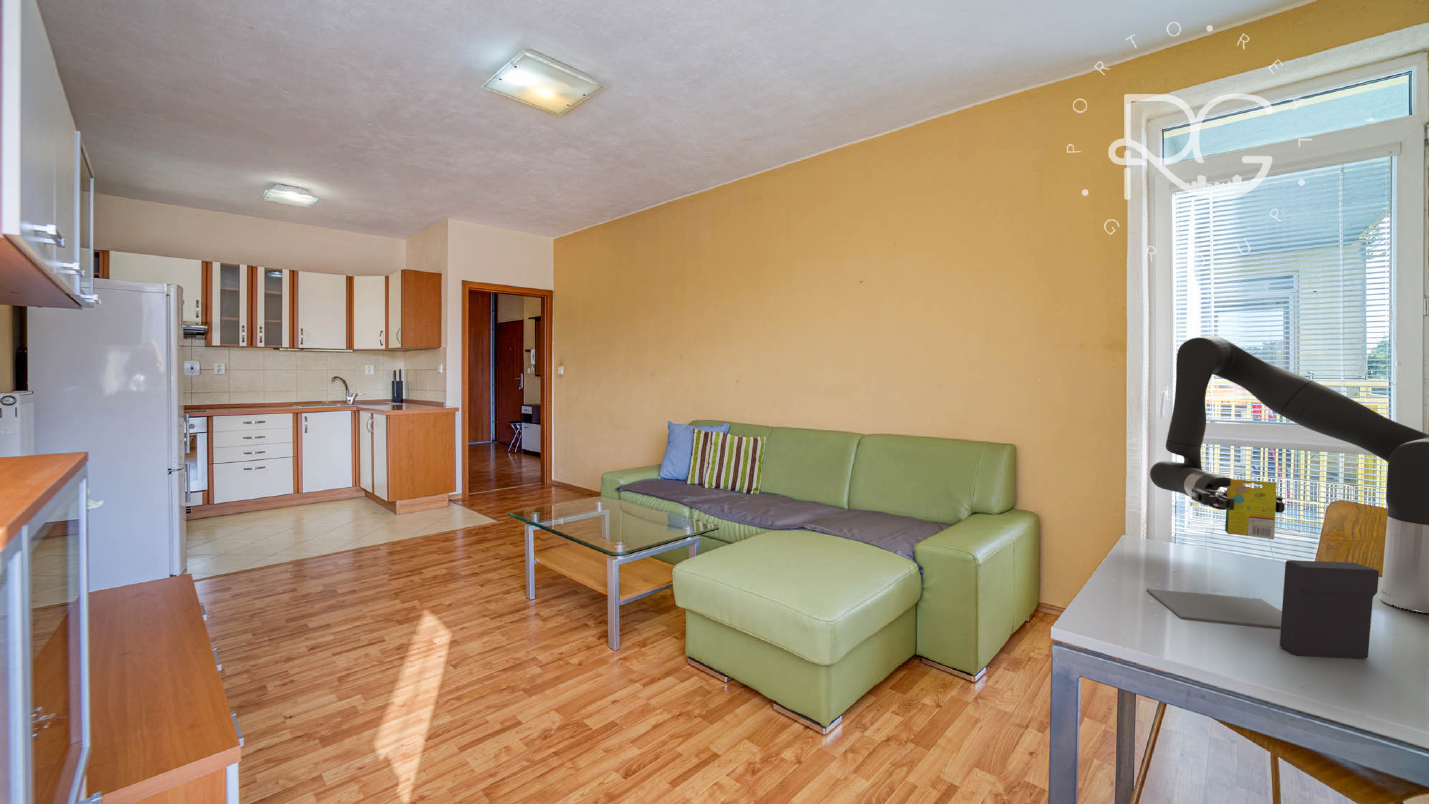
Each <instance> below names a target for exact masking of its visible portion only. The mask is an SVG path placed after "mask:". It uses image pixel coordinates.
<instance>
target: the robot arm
mask: <svg viewBox="0 0 1429 804" xmlns="http://www.w3.org/2000/svg"><path fill="white" fill-rule="evenodd" d="M1175 366H1176V367H1175V369H1176V371H1175V373H1176V374H1175V375H1176V377H1175V378H1176V381H1175V391H1174V392H1175V393H1174V395H1175V396H1174V400H1173V401H1174V402H1173V409H1172V415H1171V421H1170V423H1169V428H1168V433H1167V438H1166V443H1165V449H1166V451H1168V452H1169V453H1171V454H1174V455H1177V456H1181V457H1183V462H1178V461H1169V460H1168V461H1166V460H1162V461H1157V462H1156V463H1154V464H1153V465H1152V467H1151V469H1150V471H1149V477H1150V479H1151V482H1152V483H1153V484H1154V485H1155V486H1156V487H1158V488H1160V489H1161V490H1166V491H1170V492H1175V493H1179V494H1184V495H1185V496H1188V497H1189V498H1190V499H1191V500H1193V501H1195V502H1197V503H1200V504H1202V505H1204V506H1208V507H1211V508H1212V509H1215V510H1218V511H1226V509H1228V510H1234V500H1233V499H1231V498H1228V497H1227V486H1230V483H1231V482H1230V480H1231V479H1232V480H1234V479H1233V478H1230V477H1229V476H1226V475H1225V476H1224V475H1221V474H1219V473H1216V472H1212V471H1206V470H1203V466H1202V456H1201V455H1202V454H1201V453H1202V446H1203V442H1204V437H1205V434H1206V427H1207V411H1206V395H1207V389H1208V387H1209V382H1210V380H1211V378H1212V376H1213V375H1214V376H1216V377H1220V378H1221V379H1225V380H1226V381H1229V382H1231V383H1233V384H1236V385H1237V386H1240V387H1241V388H1243V389H1245V390H1246V391H1247V392H1248V393H1250V394H1251V395H1252V396H1253V397H1255V398H1256V399H1257V400H1258V401H1259V402H1260V403H1261V404H1263V405H1264V406H1265V407H1267V408H1268V409H1269V410H1271V411H1272V412H1274V413H1276V414H1278V415H1279V416H1282V417H1284V418H1286V419H1287V420H1289V421H1291V422H1293V423H1295V424H1297V425H1299V426H1301V427H1304V428H1306V429H1308V430H1310V431H1314V432H1316V433H1319V434H1322V435H1325V436H1328V437H1330V438H1334V439H1336V440H1340V441H1343V442H1346V443H1349V444H1352V445H1353V446H1356V447H1359V448H1361V449H1363V450H1365V451H1367V452H1369V453H1371V454H1372V455H1375V456H1377V457H1378V458H1381V459H1382V460H1384V461H1385V462H1387V463H1388V464H1387V471H1386V472H1387V473H1386V492H1385V493H1386V494H1385V502H1386V505H1387V519H1386V529H1385V530H1386V533H1385V541H1384V542H1385V543H1384V553H1383V565H1382V576H1381V577H1382V578H1381V590H1380V601H1382V602H1383V603H1385V604H1388V605H1390V606H1392V605H1394V606H1393V607H1395V606H1396V607H1395V608H1398V607H1399V609H1402V608H1404V609H1403V610H1405V608H1406V609H1409V610H1418V611H1422V612H1424V613H1429V434H1428V433H1426V432H1422V431H1420V430H1419V429H1418V430H1417V429H1414V428H1413V427H1410V426H1407V425H1404V424H1402V423H1399V422H1397V421H1394V420H1392V419H1389V418H1387V417H1385V416H1384V415H1381V414H1379V413H1378V412H1377V411H1374V410H1372V409H1371V408H1369V407H1367V406H1365V405H1363V404H1362V403H1360V402H1358V401H1356V400H1354V399H1353V398H1350V397H1348V396H1346V395H1344V394H1342V393H1340V392H1338V391H1336V390H1334V389H1331V388H1329V387H1327V386H1326V385H1323V384H1321V383H1319V382H1316V381H1314V380H1312V379H1310V378H1307V377H1305V376H1303V375H1300V374H1297V373H1295V372H1292V371H1291V370H1288V369H1285V368H1283V367H1280V366H1277V365H1275V364H1272V363H1270V362H1267V361H1265V360H1263V359H1261V358H1259V357H1257V356H1255V355H1254V354H1251V353H1250V352H1248V351H1246V350H1245V349H1243V348H1242V347H1240V346H1238V345H1236V344H1234V343H1233V342H1231V341H1230V340H1228V339H1225V338H1224V337H1223V338H1222V337H1220V336H1214V335H1209V336H1196V337H1192V338H1189V339H1188V340H1185V341H1184V342H1183V343H1181V345H1180V347H1178V350H1177V354H1176V365H1175ZM1283 500H1284V498H1283V496H1280V495H1278V494H1276V512H1275V513H1278V514H1279V513H1281V514H1283V513H1284V512H1285V509H1286V508H1285V506H1286V503H1284V502H1283ZM1409 610H1408V611H1409Z"/></svg>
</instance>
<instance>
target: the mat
mask: <svg viewBox="0 0 1429 804" xmlns="http://www.w3.org/2000/svg"><path fill="white" fill-rule="evenodd" d="M1145 590H1147V591H1146V592H1148V594H1150V593H1151V594H1152V595H1151V594H1150V595H1151V596H1152V597H1154V598H1155V599H1156V600H1157V601H1158V602H1159V603H1161V604H1162V603H1163V605H1164V607H1166V608H1167V609H1168V610H1170V611H1171V612H1172V613H1173V614H1175V615H1176V616H1177V617H1178V618H1179V619H1182V620H1183V619H1184V620H1193V621H1203V622H1211V623H1212V622H1214V623H1224V624H1232V625H1233V624H1234V625H1243V626H1251V627H1261V628H1262V627H1263V628H1271V629H1272V628H1273V629H1280V630H1281V618H1282V610H1281V609H1279V608H1277V607H1275V606H1274V605H1272V604H1270V603H1268V602H1267V601H1265V600H1264V599H1263V598H1252V597H1241V596H1231V595H1220V594H1209V593H1199V592H1198V593H1197V592H1188V591H1187V592H1186V591H1177V590H1166V589H1152V588H1146V589H1145Z"/></svg>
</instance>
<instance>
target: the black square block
mask: <svg viewBox="0 0 1429 804" xmlns="http://www.w3.org/2000/svg"><path fill="white" fill-rule="evenodd" d="M1379 577H1380V572H1379V570H1378V569H1375V568H1372V567H1369V566H1367V565H1364V564H1361V563H1357V562H1350V561H1349V562H1348V561H1347V562H1346V561H1322V560H1321V561H1318V560H1296V559H1295V560H1291V559H1290V560H1286V561H1285V566H1284V577H1283V578H1284V580H1283V581H1284V582H1283V591H1282V592H1283V593H1282V607H1281V608H1282V609H1281V611H1282V618H1281V629H1280V632H1279V633H1280V634H1279V636H1280V637H1279V647H1281V648H1282V649H1284V650H1285V651H1287V652H1288V653H1290V654H1293V655H1295V656H1297V657H1298V656H1300V657H1301V656H1302V657H1318V658H1321V657H1322V658H1338V659H1339V658H1340V659H1343V658H1344V659H1359V660H1366V659H1368V658H1369V651H1370V650H1369V649H1370V639H1371V638H1370V637H1371V624H1372V614H1373V603H1374V602H1373V601H1374V597H1375V596H1376V595H1377V593H1378V589H1379V588H1378V587H1379V580H1380V579H1379Z"/></svg>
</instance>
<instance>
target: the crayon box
mask: <svg viewBox="0 0 1429 804" xmlns="http://www.w3.org/2000/svg"><path fill="white" fill-rule="evenodd" d="M1232 479H1233V478H1231V480H1230V482H1231V483H1230V486H1227V497H1228V498H1231V499H1233V500H1234V510H1228V509H1226V510H1225V522H1224V523H1225V524H1224V525H1225V527H1224V531H1225V532H1226V534H1228V535H1235V536H1245V537H1252V538H1253V537H1254V538H1262V539H1269V540H1274V539H1275V532H1276V531H1275V528H1276V513H1277V512H1276V495H1277V486H1278V485H1277V482H1271V481H1258V480H1244V479H1243V480H1242V479H1233V480H1232ZM1245 484H1246V485H1250V484H1255V485H1258V486H1260V485H1261V486H1262V487H1251V486H1246V485H1245Z"/></svg>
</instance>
